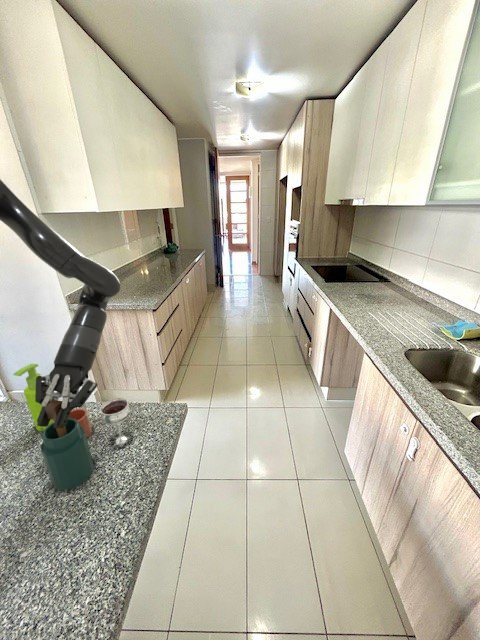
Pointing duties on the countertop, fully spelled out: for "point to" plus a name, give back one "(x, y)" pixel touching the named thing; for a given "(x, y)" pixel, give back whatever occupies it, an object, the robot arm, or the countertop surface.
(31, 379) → the soap dispenser
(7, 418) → the countertop surface
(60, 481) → the bottle
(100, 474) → the countertop surface
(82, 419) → the brush cup
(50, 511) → the countertop surface
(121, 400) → the wineglass
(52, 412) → the brush
